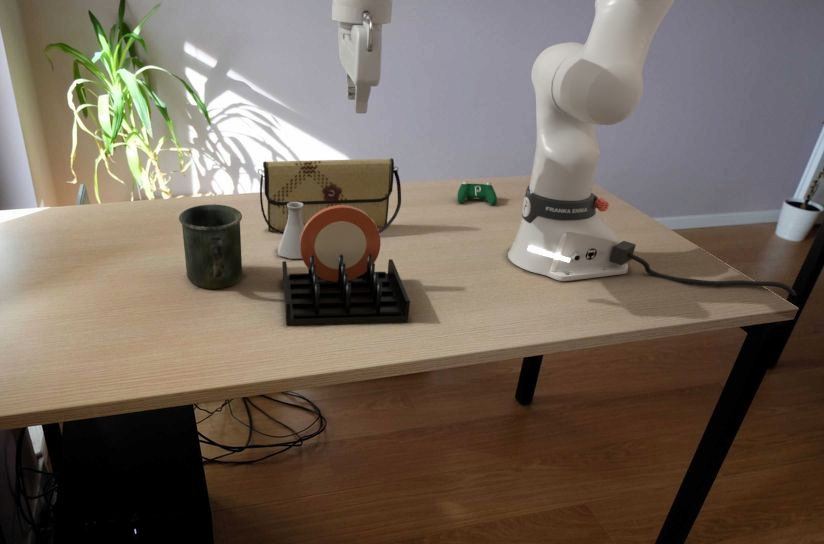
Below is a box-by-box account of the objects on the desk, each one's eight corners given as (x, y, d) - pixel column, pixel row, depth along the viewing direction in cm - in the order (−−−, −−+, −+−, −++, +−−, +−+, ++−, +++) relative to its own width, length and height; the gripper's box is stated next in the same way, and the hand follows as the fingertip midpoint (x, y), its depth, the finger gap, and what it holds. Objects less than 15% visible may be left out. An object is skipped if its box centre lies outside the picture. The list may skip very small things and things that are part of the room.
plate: (376, 278, 120) (381, 204, 113) (377, 281, 119) (383, 206, 111) (299, 279, 119) (299, 205, 111) (300, 283, 117) (300, 207, 110)
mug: (239, 261, 127) (236, 202, 121) (253, 296, 115) (250, 232, 109) (182, 267, 125) (176, 206, 118) (190, 303, 113) (183, 238, 106)
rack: (390, 278, 122) (393, 243, 119) (408, 322, 109) (411, 283, 105) (282, 281, 121) (282, 245, 117) (286, 325, 107) (285, 286, 103)
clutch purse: (261, 241, 136) (259, 169, 128) (259, 228, 142) (256, 159, 134) (402, 235, 140) (408, 166, 132) (394, 223, 146) (399, 155, 138)
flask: (309, 262, 128) (309, 212, 123) (272, 258, 129) (271, 209, 124) (316, 247, 134) (317, 199, 129) (282, 243, 135) (281, 196, 130)
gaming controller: (494, 210, 159) (494, 187, 161) (497, 203, 156) (497, 179, 157) (455, 208, 160) (456, 185, 161) (458, 201, 156) (458, 178, 158)
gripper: (395, 16, 89) (387, 121, 96) (372, 2, 106) (366, 92, 113) (349, 15, 88) (344, 121, 95) (333, 1, 106) (330, 91, 113)
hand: (356, 105), depth 105 cm, fingers open, 8 cm apart
